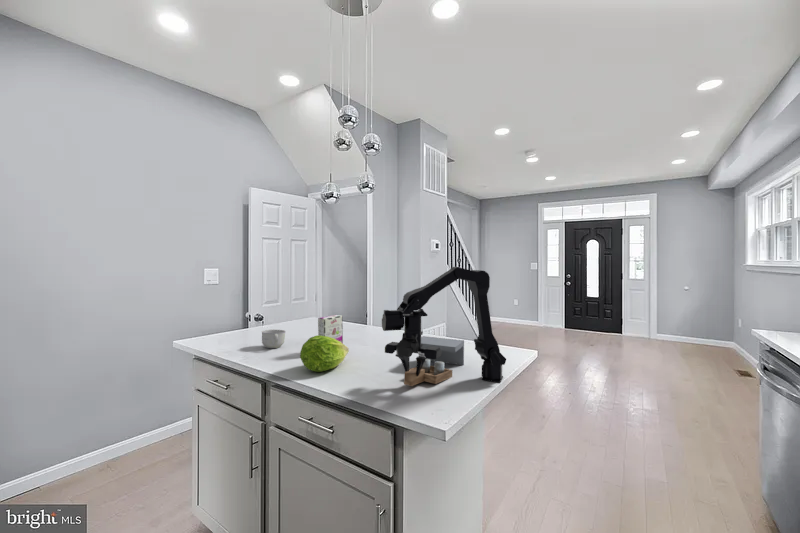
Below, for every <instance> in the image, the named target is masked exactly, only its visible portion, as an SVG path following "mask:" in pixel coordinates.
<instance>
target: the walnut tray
mask: <svg viewBox="0 0 800 533" xmlns="http://www.w3.org/2000/svg"><path fill="white" fill-rule="evenodd" d="M445 364H446V363H444V362H441V361H436V362H435V361H434V365H431V361H430V359H426V360H425V362H424V364H423V366H422V369H421V371H420V374H419V376H418V377H417V376H416V368H417V366H415V367H412V368H409V371H407V372H405V371H404V375H403V377H404V378H403V379H404V380H403V381H404V382H403V384H404V385H406V386H410V387H413V386H416V385H418V384H421V383H423V382H425V383H430V384H436V385H437V384H439V383H441V382H444V381H445V380H448V379H451V378H453V369H450V368H445Z"/></svg>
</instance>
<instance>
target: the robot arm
mask: <svg viewBox="0 0 800 533" xmlns="http://www.w3.org/2000/svg"><path fill="white" fill-rule="evenodd" d="M490 279H491V278H490V274H489V273H488V272H487V271H485V270H479V269H478V270H477V269H472V270H471V269H467V268H463V267H461V266H451V268H450V269H449V270H447V271H445V272H444V273H443V274H441V275H439V276H438V277H436V278H435V279H433V280H431V281H430V282H428V283H427V284H426V285H425V284H424V286H421V287H418V288H415V289H412V290H410V291H408V292H406V293H405V294H404V295H403V298H402V302H400V304H399V305H398V307H397V308H396V309H393V310H392V309H391V310H389V309H384V310H383V314H382V318H381V327H382V330H383V331H384V332H387V331H388V332H389V331H390V332H391V331H401V330H402V329H403V328H404V330H403V331H404V332H403V333H402V336H401V340H399V342H398V341H391V342H388V343H387V344H386V345H385V346H384V353H385V354H391V355H392V354H394V353H395V352H396V353H395V357H397V358H398V359H399V360H400V361H401V364H402V366H403V369H404V373H405V372H407V371H409V369H410V357H412V356H413V354H418V356H416V358H415V360H416V367H417V368H416V376H417V377H418V376H419V374H420V371H421V369H422V366H423V364H424V362H425V360H426V359H427V358H428V359H437V358H438V357H440V356H441V349H440V347H433V346H430V347H428V348H426V349H425V348H421V347H422V343H421V337H422V336H424V335H423V333H424V332H423V331H422V317H427V316H428V313H426V312H425V310H424V306H426V304H427V303H428V302H429V301H430V299H431V298H432V297H433V296H434V295H436V294H438V293H439V292H441V291H442V290H444V289H446V287H448V286H450V285H451V284H453V283H455V282H456V281H457V280H461V281H465V282H467V286H468V288H469V291H471V294H472V295H473V296H472V297H473V300H474V308H475V315H476V322H477V328H478V336H477V337H476V338H474V339H473V342H474V345H475V346H474V350H475V351H476V352H477V354H478V355H479V356H480V358H481V360H483V364H481V380H482V381H487V382H495V383H501V382H502V380H503V379H504V376H503V366H505V365H506V362H507V358H506V357H505V356H504V355H503V354H502V353H501V350H500V347H499V344H498V341H497V339H496V338H495V336H494V333H493V328H492V327H493V326H492V321H491V314H490V306H489V299H488V293H489V289H490V287H491V286H490V281H491V280H490Z"/></svg>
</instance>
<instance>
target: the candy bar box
mask: <svg viewBox="0 0 800 533" xmlns="http://www.w3.org/2000/svg"><path fill="white" fill-rule="evenodd" d="M343 327H344V326H343V315H341V314H340V315H338V314H335V315H334V314H333V315H328V316H322V317H318V318H317V333H318V335H321V336H327V337H331V338H334V339H336V340H338V341H340V342H341V343H342V344H344V339H343V332H344V330H343V329H344V328H343ZM318 335H317V336H318Z"/></svg>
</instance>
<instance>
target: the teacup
mask: <svg viewBox="0 0 800 533" xmlns="http://www.w3.org/2000/svg"><path fill="white" fill-rule="evenodd" d="M285 339H286V330H283V329H264V330H262V331H261V343H262V345H263V347H265V348H266V349H278V348H281V347H282V346H283V345H284V344H285Z"/></svg>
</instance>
